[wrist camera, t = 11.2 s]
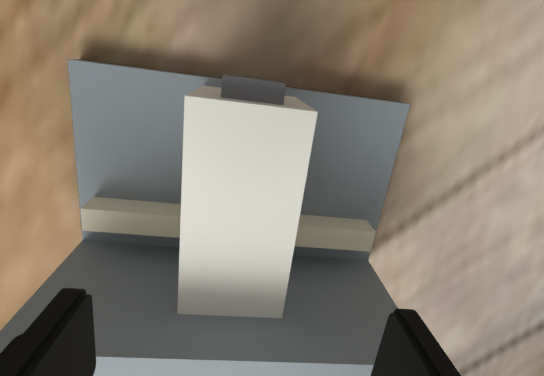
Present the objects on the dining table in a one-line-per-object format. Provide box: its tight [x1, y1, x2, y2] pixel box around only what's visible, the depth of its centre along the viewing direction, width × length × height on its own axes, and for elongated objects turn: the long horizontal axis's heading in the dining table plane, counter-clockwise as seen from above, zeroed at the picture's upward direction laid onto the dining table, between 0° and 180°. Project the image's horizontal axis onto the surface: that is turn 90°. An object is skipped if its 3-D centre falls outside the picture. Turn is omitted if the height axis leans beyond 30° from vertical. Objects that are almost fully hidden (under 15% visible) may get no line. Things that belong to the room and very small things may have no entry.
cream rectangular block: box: [177, 74, 318, 319], centre depth 20 cm, size 6×13×7 cm, turn 173°
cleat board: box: [0, 59, 410, 376], centre depth 19 cm, size 22×14×12 cm, turn 83°
